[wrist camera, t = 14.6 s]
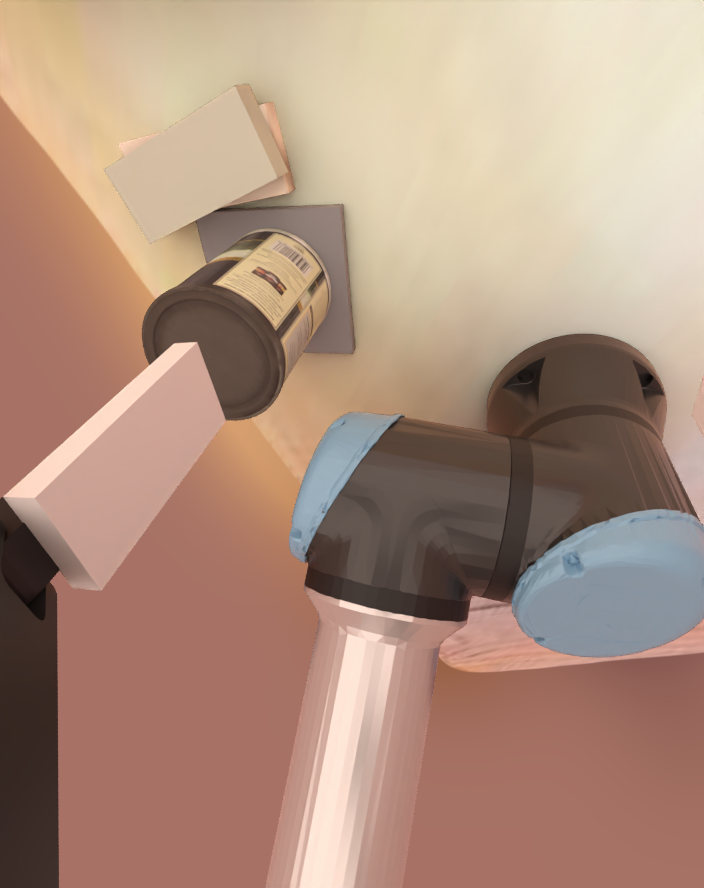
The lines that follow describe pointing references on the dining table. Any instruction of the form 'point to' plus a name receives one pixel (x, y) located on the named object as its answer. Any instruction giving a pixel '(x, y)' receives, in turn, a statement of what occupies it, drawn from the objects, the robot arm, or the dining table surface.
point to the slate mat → (319, 232)
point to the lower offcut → (270, 189)
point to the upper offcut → (198, 164)
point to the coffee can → (245, 317)
